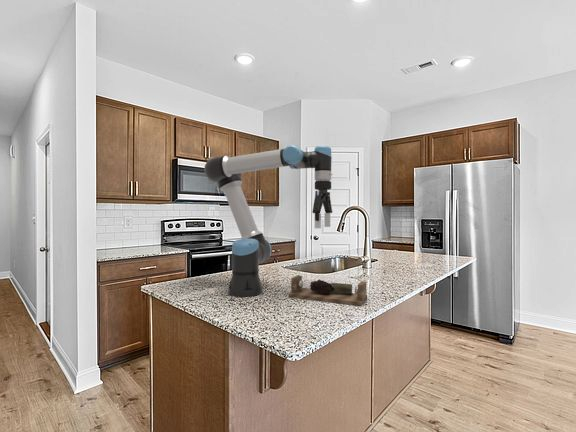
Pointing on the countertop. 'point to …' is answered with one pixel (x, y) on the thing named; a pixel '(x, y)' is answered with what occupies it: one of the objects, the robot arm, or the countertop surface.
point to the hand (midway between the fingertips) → (322, 227)
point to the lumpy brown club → (330, 287)
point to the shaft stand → (332, 297)
